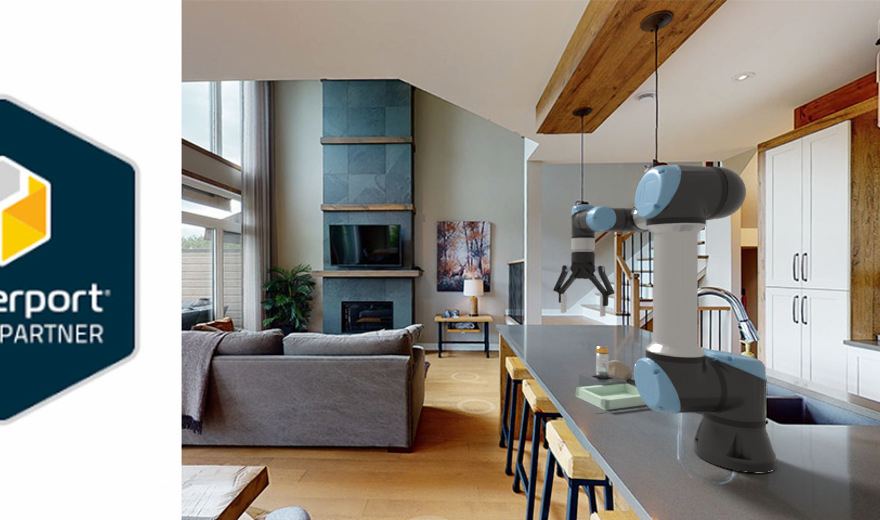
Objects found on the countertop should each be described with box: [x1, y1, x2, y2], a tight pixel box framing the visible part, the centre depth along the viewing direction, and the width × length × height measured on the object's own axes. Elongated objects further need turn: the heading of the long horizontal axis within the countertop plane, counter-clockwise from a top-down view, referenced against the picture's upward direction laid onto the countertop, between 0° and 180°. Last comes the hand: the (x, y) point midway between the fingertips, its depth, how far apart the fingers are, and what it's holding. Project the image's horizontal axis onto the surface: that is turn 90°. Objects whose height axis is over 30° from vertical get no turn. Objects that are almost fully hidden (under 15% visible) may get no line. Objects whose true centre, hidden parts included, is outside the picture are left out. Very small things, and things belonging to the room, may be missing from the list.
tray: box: [575, 382, 647, 411], centre depth 133 cm, size 20×14×3 cm
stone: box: [609, 359, 633, 381], centre depth 157 cm, size 10×7×10 cm
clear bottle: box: [595, 345, 610, 380], centre depth 146 cm, size 4×4×14 cm
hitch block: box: [578, 372, 628, 387], centre depth 146 cm, size 12×10×4 cm
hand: (582, 314), depth 143 cm, fingers open, 13 cm apart
